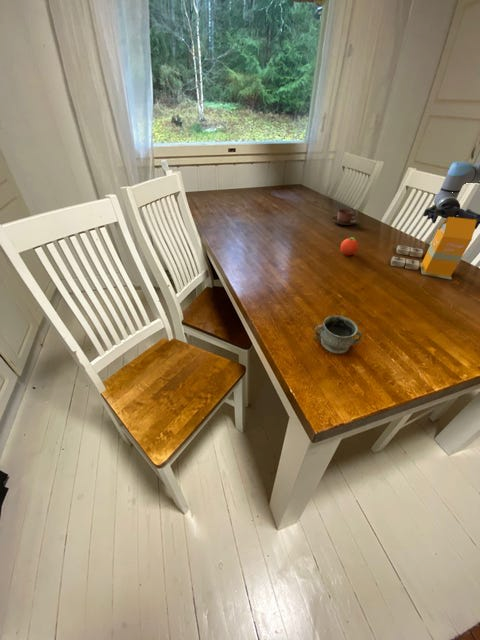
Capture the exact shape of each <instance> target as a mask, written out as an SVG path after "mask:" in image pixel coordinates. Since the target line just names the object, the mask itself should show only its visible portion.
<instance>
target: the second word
mask: <svg viewBox="0 0 480 640" xmlns="http://www.w3.org/2000/svg"><path fill="white" fill-rule="evenodd" d="M421 264H422V262H420V261H419V260H416V259H411V258H405V257H400V256H394V255H393V256H392V257H391V260H390V266H392V267H393V266H394V267H399V268H405V269H409V270H414V271H418V270H419V268H420V272H421V275H424V276H429V277H435V278H441V279H445V280H451V281H452V280H453V278H452V276H451V277H448V276H441V275H435V274H428V273H424V270H423V268H422V265H421Z"/></svg>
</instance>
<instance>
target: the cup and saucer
mask: <svg viewBox="0 0 480 640" xmlns="http://www.w3.org/2000/svg"><path fill="white" fill-rule="evenodd" d="M353 217H355V218H353ZM357 220H358V215H357V214H354V211H353V210H351V209H348V208H341V209H339V210H338V212H337V215H335V216H333V217H332V222H333V223H335V224H337V225H341V226H351V225H354V224H356V222H357Z"/></svg>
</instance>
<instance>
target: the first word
mask: <svg viewBox="0 0 480 640" xmlns="http://www.w3.org/2000/svg"><path fill="white" fill-rule="evenodd" d="M396 254H398V255H404V256H410V257H415V258H422V256H423V254H424V251H423V249H422V248H418V247H413V246H412V247H410V246H406V245H397V247H396Z"/></svg>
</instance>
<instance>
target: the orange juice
mask: <svg viewBox="0 0 480 640" xmlns="http://www.w3.org/2000/svg"><path fill="white" fill-rule="evenodd" d="M476 221H477V220H475V219H465V218H456V217H448V218H445V220H444V221H443V222H442V224H441V225H440V226H439V227H438V229H437V230H436V232H435V234H434V236H433V239H432V241H431V243H430V245H429V247H428V249H427V251H426V254H425V255H424V257H423V260H422V262H421V263H422V264H421V265H422V268H423V270H424V273H428V274H435V275H441V276H448V277H452V275H453V273H454V272H455V270H456V268H457V266H458V265H459V264H460V261H461V259H462V257H463V256H464V254H465V252H466V251H467V248H468V247H469V245H470V244H471V242H472V240H473V236H474V232H475V230H476V229H475V225H476Z"/></svg>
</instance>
